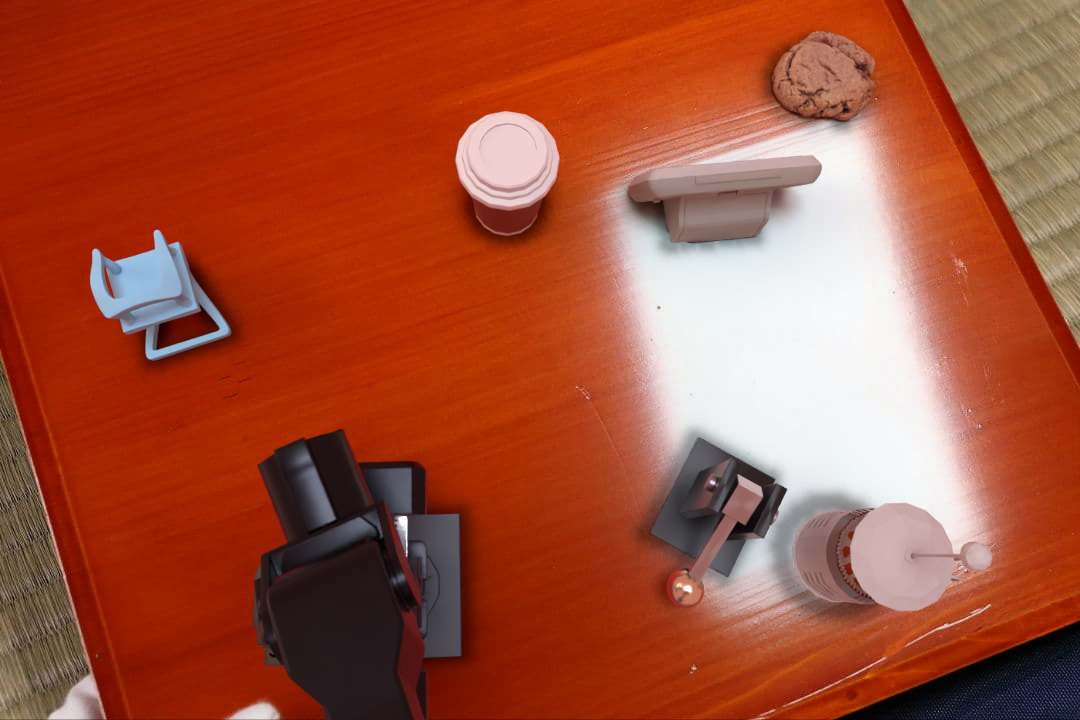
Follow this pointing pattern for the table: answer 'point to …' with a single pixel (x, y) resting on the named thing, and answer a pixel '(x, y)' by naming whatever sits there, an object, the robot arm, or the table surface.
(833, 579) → the french press
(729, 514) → the switch lever
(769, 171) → the digital clock
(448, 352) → the table surface
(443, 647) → the control box
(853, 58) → the cookie
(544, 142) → the coffee cup
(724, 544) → the switch bracket
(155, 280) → the chair
